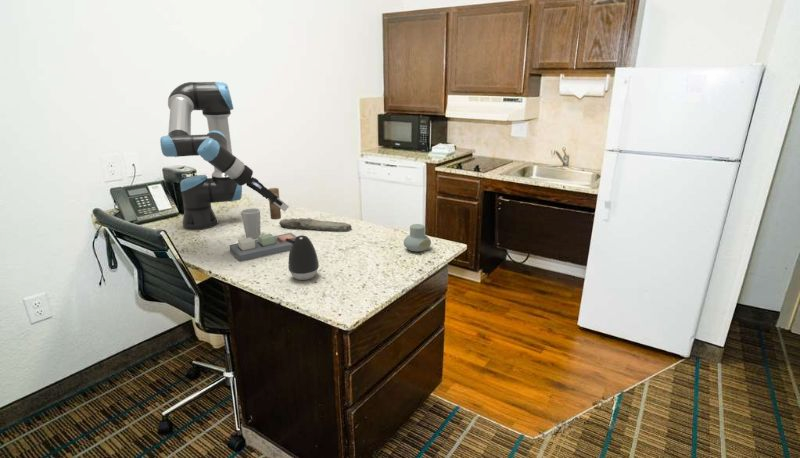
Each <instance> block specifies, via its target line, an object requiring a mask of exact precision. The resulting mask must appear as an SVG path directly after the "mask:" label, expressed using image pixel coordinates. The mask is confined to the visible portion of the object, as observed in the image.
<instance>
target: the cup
mask: <svg viewBox="0 0 800 458" xmlns="http://www.w3.org/2000/svg"><path fill="white" fill-rule="evenodd" d="M240 215H241V220H242V222H243V223H242V224H243V229H244V234H245V238H250V237H251V238H252V239H253V240H257V239H258V236H260V235H262V234H261V233H262V232H261V209H260V208H252V207H251V208H246V209H242V210H240Z"/></svg>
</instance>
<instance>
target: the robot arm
mask: <svg viewBox="0 0 800 458" xmlns="http://www.w3.org/2000/svg"><path fill="white" fill-rule="evenodd" d="M167 107H168V109H169V122H168V135H165V136H164V135H163V136H161V137H160V139H159V140H160V142H159V143H160V150H161V153H162V155H163V156H164V157H167V158H170V157H171V158H173V157H175V158H177V157H178V158H179V157H193V156H197V157H198V156H200V158H202V159H203V161H206V162H208V164H210V165H211V166H212V167H213V170H214V171H213V172H212V173H211V177H208V176H207V175H206V174H198V175H193V176H189V177H188V176H187V177H186V178H184V179H182V180H180V184H179V186H180V192H181V193H180V194H181V197H182V205H183V211H184V213H183V218H182V228H183V229H185V230H190V231H197V230H198V231H199V230H205V229H209V228H214V227H215V226H217V225H218V222H219V221H218V217H217V216H216V214H215V213H214V210H213V208H212V203H213V204H215V203H226V202H227V203H228V202H235V201H240V200H241V199H242V197H243V195H242V194H243V186H245V185H246V187H248V188H250V189H252V191H255V192H257V193H258V194H259V195H261V197H263V198H265V199H266V200H268V201H269V200H271V201H272V202H271V203H272V204H273V203H274V204H275V205H277V206H278V207H279V208H280V210H282V211H283V212H285V213H286V211H287V210H288V208H289V207H290V205H288V204H286V203H285V202H284V201H283V200H281V199H280V197H279V198H278V197H277V196H276V195H274V194H273V193H272V192H271V191H269V190H268V189H269V188H267V187H265V186H264V184H263V183H261V182H260V180H259V179H257V178H255V177H254V176H253V174H254V171H253V169H251V167H249V166H248V165H246V164H245V163H244V162H243V161H242V160H241V159H240V158H238V157H237V156H235V155H234V154H233V149H232V142H231V141H232V140H231V135H230V134H231V133H230V125H229V119H228V118H229V117H230V115H231V114H232V112H231V111H232V110H234V105H233V101H232V97H231V93H230V90H229V85H228V84H227V83H225V82H223V81H221V82H220V81H196V82H194V81H189V82H184V83H182V84H179V85H178V86H176V88H174V89H173V90H172V91H171V92H170V94H169V96H168V100H167ZM193 111H201V112H202V116H204V117H205V118H206V121H207V126H208V133H207V134H192V128H191V127H192V112H193Z"/></svg>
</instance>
